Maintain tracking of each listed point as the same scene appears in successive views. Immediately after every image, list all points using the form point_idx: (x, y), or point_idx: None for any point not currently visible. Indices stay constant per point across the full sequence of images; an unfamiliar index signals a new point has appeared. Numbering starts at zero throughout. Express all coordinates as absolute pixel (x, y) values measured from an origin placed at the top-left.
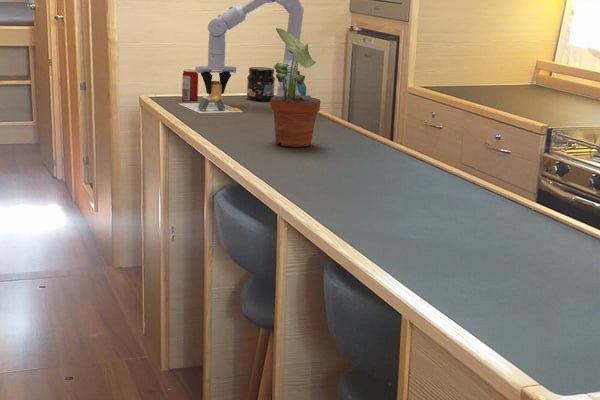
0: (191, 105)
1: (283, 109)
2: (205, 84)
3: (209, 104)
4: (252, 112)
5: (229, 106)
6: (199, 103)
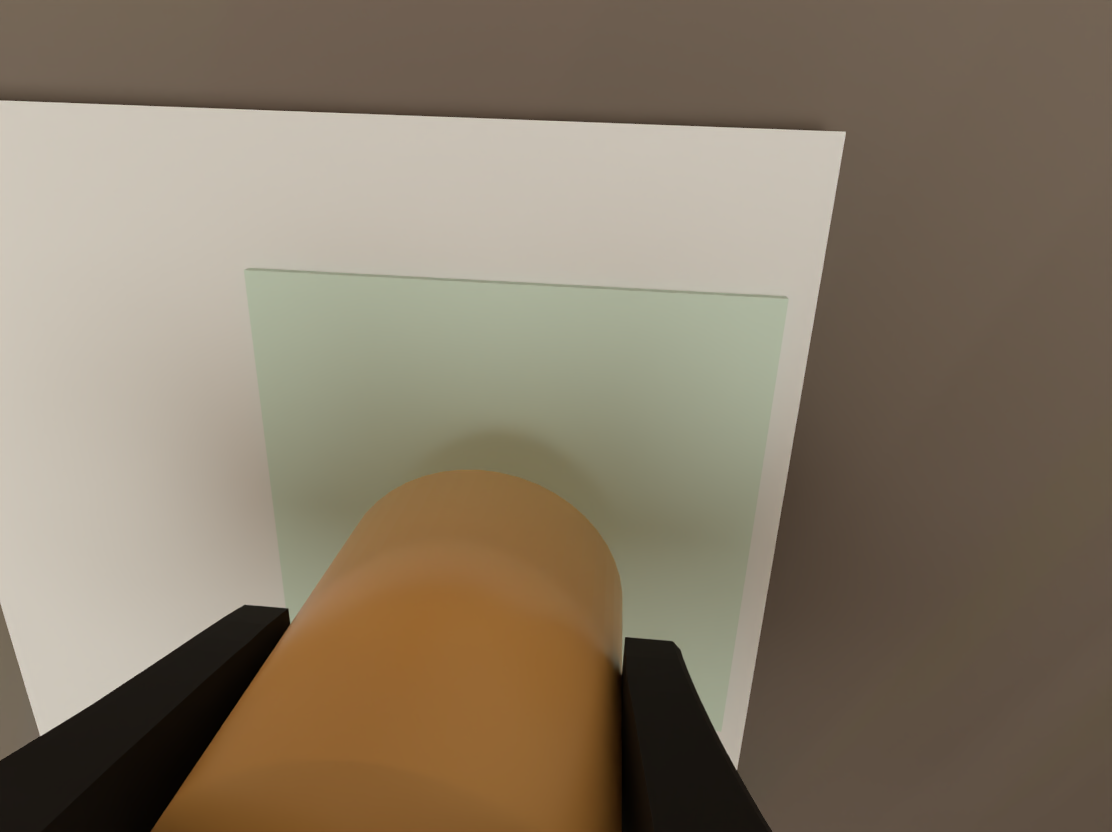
0: (91, 371)
1: None
2: (30, 783)
3: (448, 401)
4: (971, 817)
5: (721, 664)
6: (312, 161)
